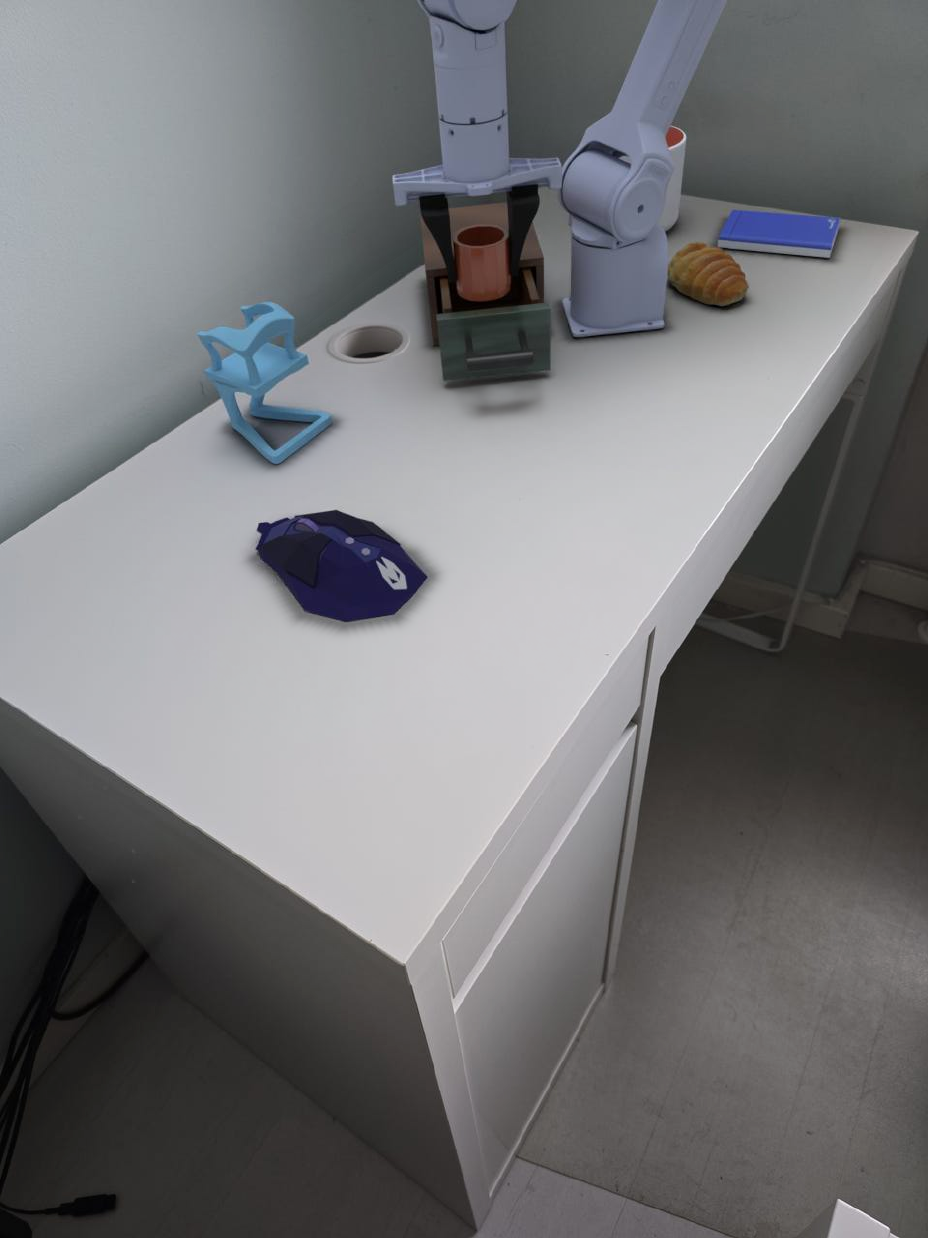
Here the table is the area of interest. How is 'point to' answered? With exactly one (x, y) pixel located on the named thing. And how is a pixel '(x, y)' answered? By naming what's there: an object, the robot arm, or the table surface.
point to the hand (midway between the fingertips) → (482, 274)
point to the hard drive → (780, 233)
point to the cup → (672, 177)
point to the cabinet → (434, 259)
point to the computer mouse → (339, 565)
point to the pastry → (707, 274)
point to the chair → (260, 374)
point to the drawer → (494, 331)
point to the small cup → (482, 262)
